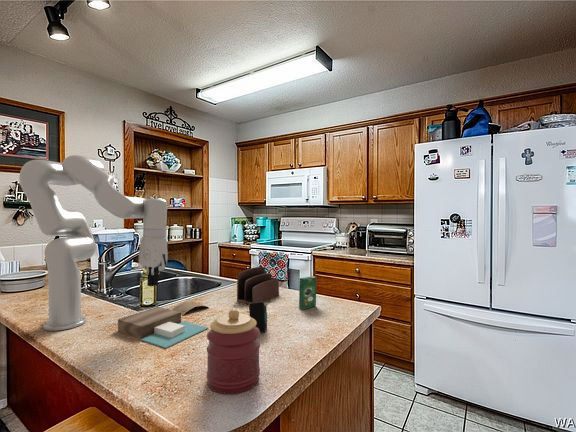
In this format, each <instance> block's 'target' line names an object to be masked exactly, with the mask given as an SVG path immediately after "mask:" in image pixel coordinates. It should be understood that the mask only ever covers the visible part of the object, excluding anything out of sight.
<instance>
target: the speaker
mask: <svg viewBox="0 0 576 432" xmlns="http://www.w3.org/2000/svg"><path fill="white" fill-rule="evenodd" d="M248 308H249V309H248V310H249V311H248V313H249V316H250V317H251V318H253V319H255V320H256V322H257V324H256V327H257V328H258V329H259V330H260V334H264V333H266V329H267V328H268V311H267V309H268V308H267V304H266V303H265V301H262V302H256V303H249V304H248Z"/></svg>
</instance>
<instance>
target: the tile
mask: <svg viewBox="0 0 576 432" xmlns="http://www.w3.org/2000/svg"><path fill="white" fill-rule="evenodd" d="M183 332H185V326H184V325H180V324H176V323H172V322H166V323H164V324H161V325H159V326H156V327H154V333H155V334H159V335H162V336H166V337H169V338H172V337H174V336H176V335H179V334H181V333H183Z"/></svg>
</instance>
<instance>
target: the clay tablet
mask: <svg viewBox="0 0 576 432" xmlns="http://www.w3.org/2000/svg"><path fill="white" fill-rule="evenodd" d="M195 307H197V308H198V307H204V305H203V304H201V303H199V302H196V301H190V300H189V301H183V302H181V303H178V304H177V305H175V306H174V307H173V308H172V309H171V310H174V311H178V312H181V316H182V315H183V316H184V315H185V314H186V313H187V312H189V311H190V310H192V309H194V308H195ZM207 308H208V309H210V307H208V306H207Z"/></svg>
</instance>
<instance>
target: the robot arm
mask: <svg viewBox="0 0 576 432" xmlns="http://www.w3.org/2000/svg"><path fill="white" fill-rule="evenodd" d="M105 170H106V169H105V167H104V165H103V163H102V162H101V161H100V160H98V159H95V158H93V157H88V156H84V155H79V154H73V155H68V156H66V157H65V158H64V159H63V161H62V162H58V161H53V160H47V159H32V160H28V161H27V162H26V163H24V164H23V166H22V168H21V169H20V172H19V177H18V178H19V184H20V187H21V190H22V191H23V193H24V195H25V196H26V198H27V200H28V202H29V204H30V206H31V210H32V212H33V215H34V217H35V219H36V222H37V225H38V228H39V230H40V231H41V233H42V234H43V235H45V236H50V237H55V236H56V237H57V236H64V237H59V238H56V239H52V240H51V241H49V242H48V243H47V244H46V246H45V248H44V252H43V253H44V259H45V263H46V266H47V277H48V278H47V279H48V281H47V282H48V321H46V322H45V323H43V330H45V331H49V332H50V331H52V332H53V331H54V332H55V331H56V332H57V331H64V330H68V329H74V328H77V327H79V326H82V325H83V324H85V323H86V322H87V316H84V315H82V284H81V283H82V279H81V278H82V274H81V270H80V268H79V266H78V265H77V262H80V261H85V260H89V259H90V258H92V257H93V256H94V255H95V253H96V250H97V244H96V241H95V238H94V236H93V233H92V231H91V230H92V229H91V228H90V225H89V223H88V221H87V218H86V217H85V215H84V214H83V213H81V212H80V211H78V210H75V209H65V208H64V206H63V205H62V202H61V199H60V198H59V196H58V194H57V193H56V192H55V191H54V189H52V188H51V187H50V185H53V186H66V187H68V186H76V185H77V186H78V185H80V186H82V187H84V188H85V189H86V190H88V191H89V192H90V193H92V195H93V196H94V199H95V200H96V202H97V204H98V205H99V206H100V207H102V208H103V209H104V210H106V211H107V212H108V213H110V214H112V215H113V216H114V217H117V218H120V219H123V220H124V219H125V220H128V219H142V221H143V222H142V224H143V225H142V237H141V239H140V243H139V249H138V264H139V265H141V266H142V267H143V268H144V269H145V270H146V274H147V285H146V286H148V287H154V286H155V287H156V286H158V285H159V275H160V274H161V271H162V272H163V271H165V270H166V266H167V265H168V258H169V257H168V254H169V253H168V241H167V221H168V220H167V219H168V217H167V216H168V215H167V214H168V202H167V200H166V199H163V198H146V197H145V198H144V197H137V196H126V195H125V194H123V193H121V192H120V191H118V190H117V189H116V188H115V187H113V185H114V178H113V176H112V175H110V174H109V173H107V172H106V171H105Z"/></svg>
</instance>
